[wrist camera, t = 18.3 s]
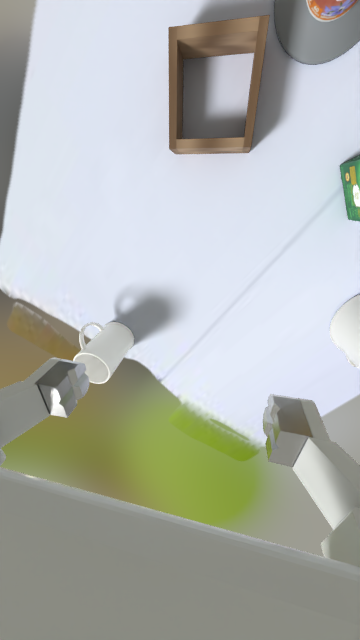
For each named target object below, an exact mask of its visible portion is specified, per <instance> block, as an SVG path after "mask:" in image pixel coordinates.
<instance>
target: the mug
mask: <svg viewBox="0 0 360 640" xmlns="http://www.w3.org/2000/svg"><path fill="white" fill-rule="evenodd" d="M89 325H93V326H96V327H97V328H98V329H99V330H100V332H99V333H98V334H97V335H96V336H95V337H94V338H93V339H92V340H91V341H90V342H89V343H88V344H87V345H86V344H85V342H84V337H83V334H84V330H85V328H86V327H87V326H89ZM79 341H80V345H81V348H82V350H81V351H80V352H79V353H78V354H77V355H76V356H75V357H74V360H73V361H75V362H80V363H84V364H85V366H86V371H85V372H84V373H85V374H86V375H87V376H88V377H89V382H92V383H97V384H100V383H104V382H106V381H108V380H109V378H110V377H111V375H112V374H113V372H114V371H115V369H116V368H117V366H118V365H119V364H120V362H121V361H122V359H123V358H124V356H125V355H126V353H127V352H128V351H129V349H131V348H132V346H133V344H134V336H133V334H132V332H131V331H130V329H129V328H127V327H126V326H125V325H123V324H121V323H118V322H110V323H107V324H106V325H105V326H104V327H102V326H101V325H100V324H98V323H95V322H91V323H87V324H86V325H84V326H83V327H82V329H81V331H80V335H79Z"/></svg>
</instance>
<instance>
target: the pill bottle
mask: <svg viewBox="0 0 360 640" xmlns="http://www.w3.org/2000/svg"><path fill="white" fill-rule="evenodd" d="M357 1H358V0H306V2H307V6H308V9H309V12H310V14H311V15H312V16H313V17H314V18H315V19H316V20H318V21H321V22H330V21H334V20H336V19H338V18H340V17H341V16H343V15H344V14H346V13H347V12H348V11H349V10H350V9H351V8H352V7H353V6H354V5H355V3H356V2H357Z"/></svg>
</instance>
